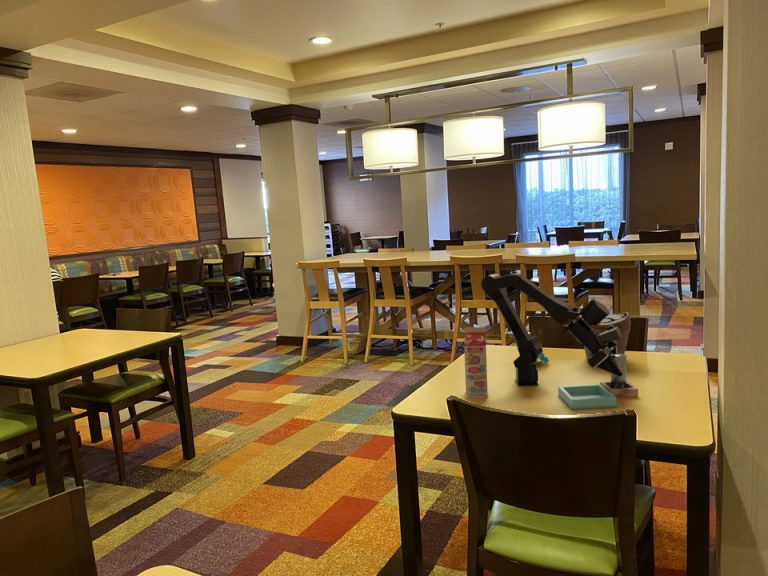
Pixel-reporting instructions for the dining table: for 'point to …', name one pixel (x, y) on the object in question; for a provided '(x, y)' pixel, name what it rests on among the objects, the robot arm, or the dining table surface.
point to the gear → (544, 358)
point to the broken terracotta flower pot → (618, 321)
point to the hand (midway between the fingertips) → (623, 372)
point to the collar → (621, 390)
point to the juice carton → (475, 362)
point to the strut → (620, 361)
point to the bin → (587, 397)
